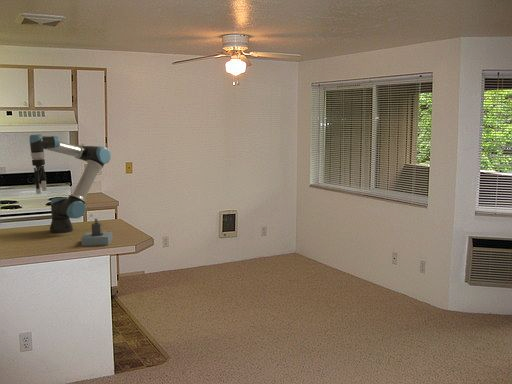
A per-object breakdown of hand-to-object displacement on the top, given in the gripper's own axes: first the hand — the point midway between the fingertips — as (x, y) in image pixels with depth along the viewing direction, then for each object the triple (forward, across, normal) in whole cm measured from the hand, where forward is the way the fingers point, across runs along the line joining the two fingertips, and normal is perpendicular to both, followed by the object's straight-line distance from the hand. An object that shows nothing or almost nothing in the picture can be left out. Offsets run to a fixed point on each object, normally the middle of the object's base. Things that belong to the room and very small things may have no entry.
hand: (41, 192), depth 369 cm
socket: (+32, +14, +34) cm, 49 cm away
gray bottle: (+32, +14, +34) cm, 49 cm away
